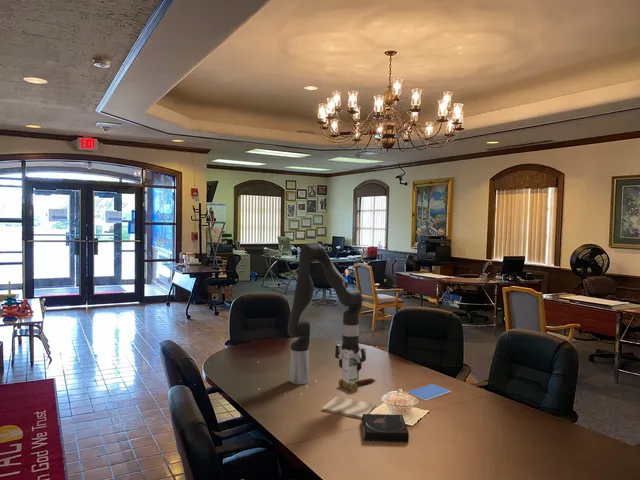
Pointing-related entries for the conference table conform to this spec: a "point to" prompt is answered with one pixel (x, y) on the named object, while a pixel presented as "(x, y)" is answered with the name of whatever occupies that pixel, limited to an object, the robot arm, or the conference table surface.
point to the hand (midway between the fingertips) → (350, 368)
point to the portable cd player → (384, 428)
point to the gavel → (354, 384)
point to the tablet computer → (429, 392)
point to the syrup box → (349, 367)
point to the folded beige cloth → (348, 407)
